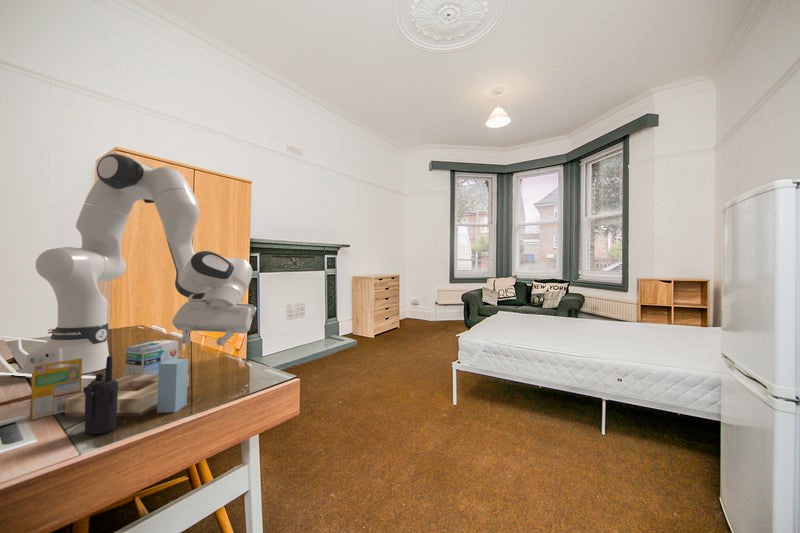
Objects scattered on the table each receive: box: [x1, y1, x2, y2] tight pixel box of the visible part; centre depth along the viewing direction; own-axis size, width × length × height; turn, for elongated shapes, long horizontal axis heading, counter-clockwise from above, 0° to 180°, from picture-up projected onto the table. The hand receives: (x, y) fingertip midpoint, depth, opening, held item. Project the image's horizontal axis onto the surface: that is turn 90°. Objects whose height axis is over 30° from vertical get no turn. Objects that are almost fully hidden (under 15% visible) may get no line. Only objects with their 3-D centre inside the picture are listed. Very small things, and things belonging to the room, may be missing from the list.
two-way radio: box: [82, 355, 118, 435], centre depth 59 cm, size 6×4×15 cm
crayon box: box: [29, 358, 83, 421], centre depth 67 cm, size 7×3×12 cm, turn 145°
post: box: [156, 358, 189, 413], centre depth 70 cm, size 4×4×11 cm
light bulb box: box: [124, 339, 179, 376], centre depth 89 cm, size 11×7×11 cm, turn 168°
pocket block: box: [64, 374, 190, 418], centre depth 74 cm, size 16×16×4 cm
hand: (201, 343), depth 81 cm, fingers open, 8 cm apart
